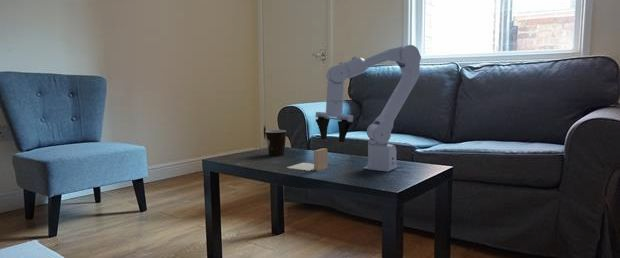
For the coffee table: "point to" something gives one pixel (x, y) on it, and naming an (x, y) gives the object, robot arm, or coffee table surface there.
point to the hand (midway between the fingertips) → (332, 140)
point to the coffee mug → (276, 142)
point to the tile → (320, 159)
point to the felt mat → (303, 166)
